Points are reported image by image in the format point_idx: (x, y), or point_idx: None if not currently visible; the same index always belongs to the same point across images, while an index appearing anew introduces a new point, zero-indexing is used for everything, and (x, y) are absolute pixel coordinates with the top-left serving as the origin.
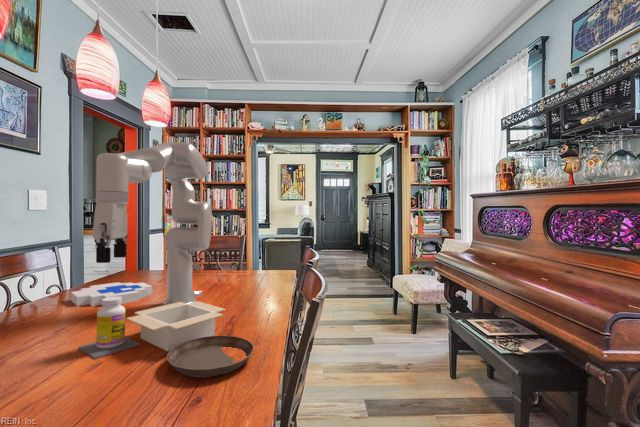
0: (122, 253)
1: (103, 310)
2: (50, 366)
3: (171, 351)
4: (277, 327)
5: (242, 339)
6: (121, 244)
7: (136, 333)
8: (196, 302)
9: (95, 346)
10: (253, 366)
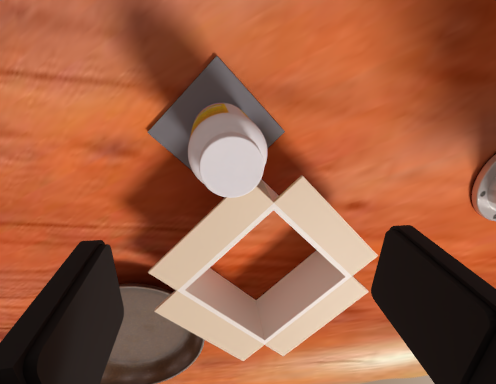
0: (390, 302)
1: (196, 147)
2: (109, 44)
3: (128, 287)
4: (274, 378)
5: (186, 365)
6: (459, 377)
7: (297, 157)
8: (357, 291)
9: (213, 100)
10: None
